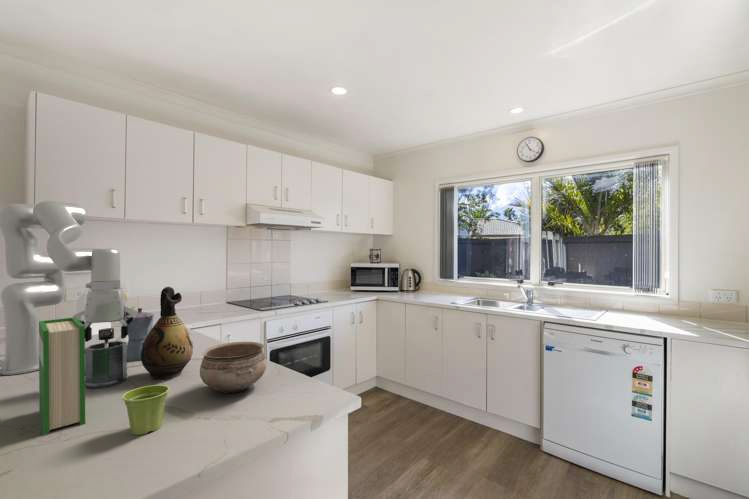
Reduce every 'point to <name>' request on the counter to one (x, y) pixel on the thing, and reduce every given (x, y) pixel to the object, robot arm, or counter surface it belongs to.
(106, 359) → the carafe
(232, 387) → the cooking pot
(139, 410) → the plant pot
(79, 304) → the milk
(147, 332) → the moka pot
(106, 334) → the dark grey stemmed piece
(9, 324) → the robot arm
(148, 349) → the ceramic jug
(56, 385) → the hardback book
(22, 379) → the counter surface
